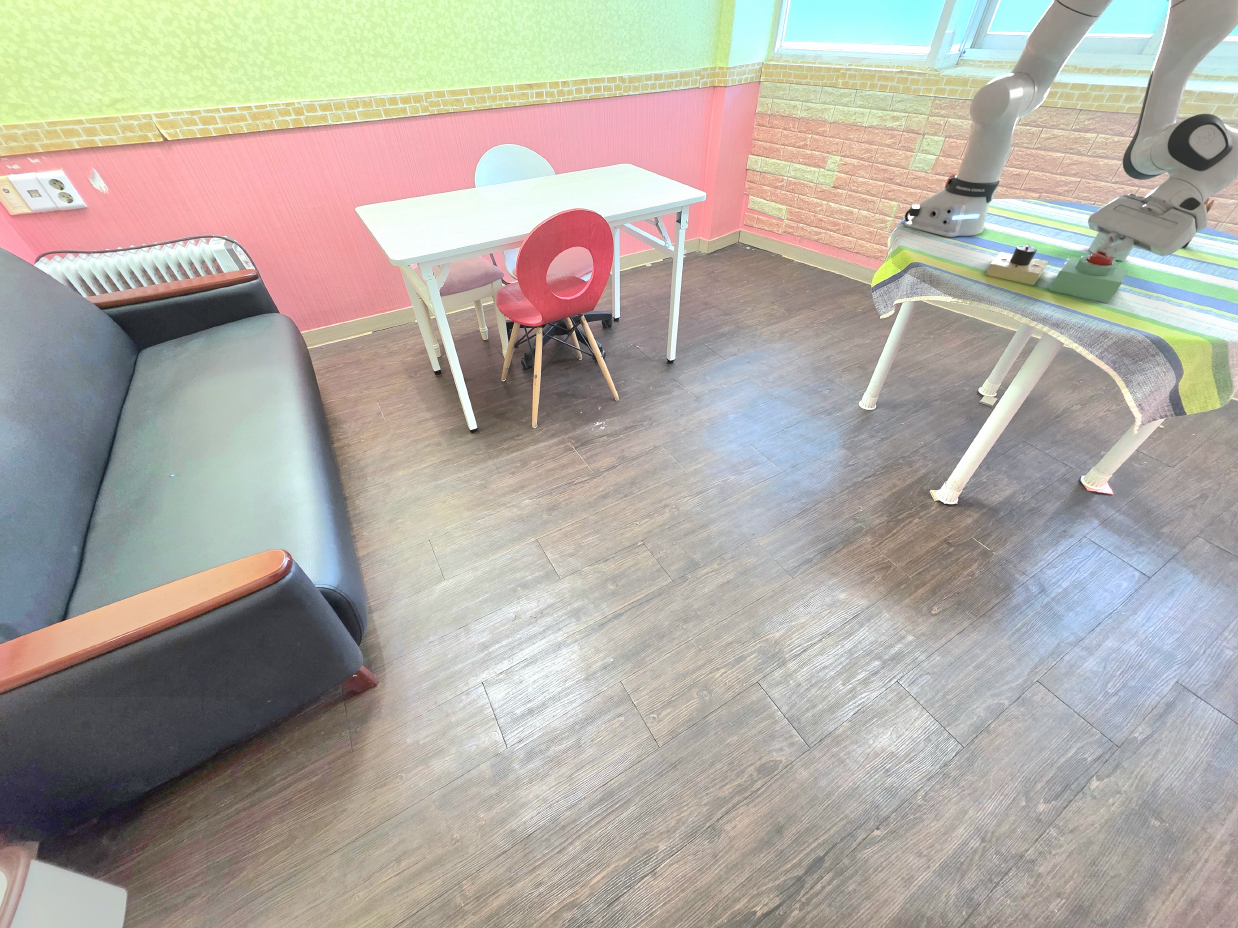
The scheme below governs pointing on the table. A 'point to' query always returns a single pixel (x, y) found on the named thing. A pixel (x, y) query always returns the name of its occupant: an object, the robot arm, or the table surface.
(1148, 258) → the table surface
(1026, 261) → the knob
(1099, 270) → the green push button box
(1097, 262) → the button
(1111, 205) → the robot arm
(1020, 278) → the panel
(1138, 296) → the table surface
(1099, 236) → the small box
